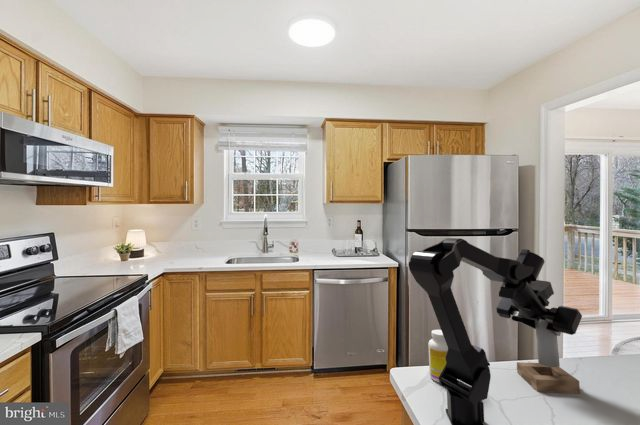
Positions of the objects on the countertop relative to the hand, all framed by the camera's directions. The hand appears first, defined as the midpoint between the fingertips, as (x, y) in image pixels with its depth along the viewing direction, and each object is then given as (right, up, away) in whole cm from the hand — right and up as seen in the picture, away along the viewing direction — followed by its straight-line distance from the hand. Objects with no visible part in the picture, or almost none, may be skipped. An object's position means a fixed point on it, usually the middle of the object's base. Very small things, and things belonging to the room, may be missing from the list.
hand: (549, 331), depth 84 cm
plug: (-1, -8, -1) cm, 8 cm away
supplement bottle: (-28, -15, +3) cm, 32 cm away
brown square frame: (-1, -13, -1) cm, 14 cm away
